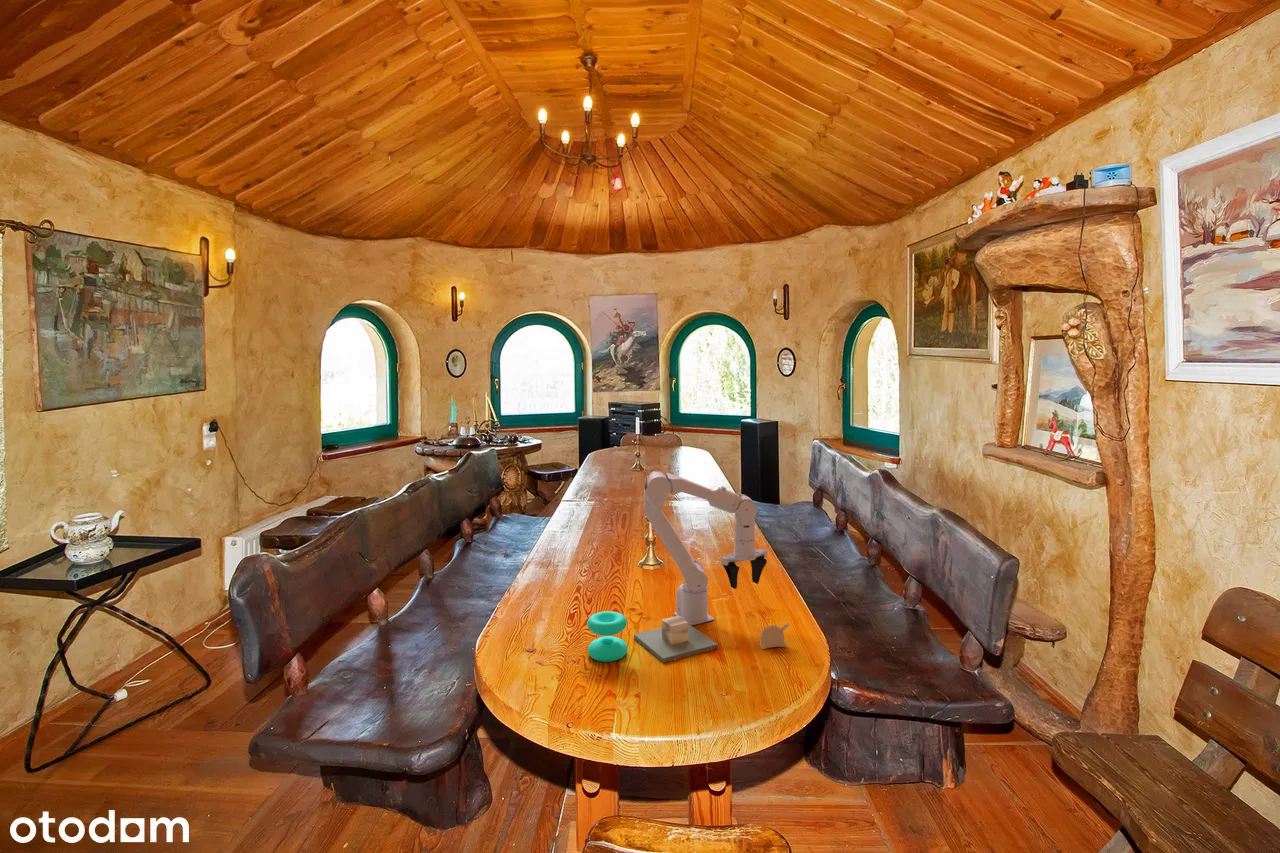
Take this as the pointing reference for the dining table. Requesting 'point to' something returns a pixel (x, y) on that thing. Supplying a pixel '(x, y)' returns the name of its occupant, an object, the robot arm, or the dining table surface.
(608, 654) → the donuts
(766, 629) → the decorative ornament
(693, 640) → the board
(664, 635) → the cream cube
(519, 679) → the dining table surface
